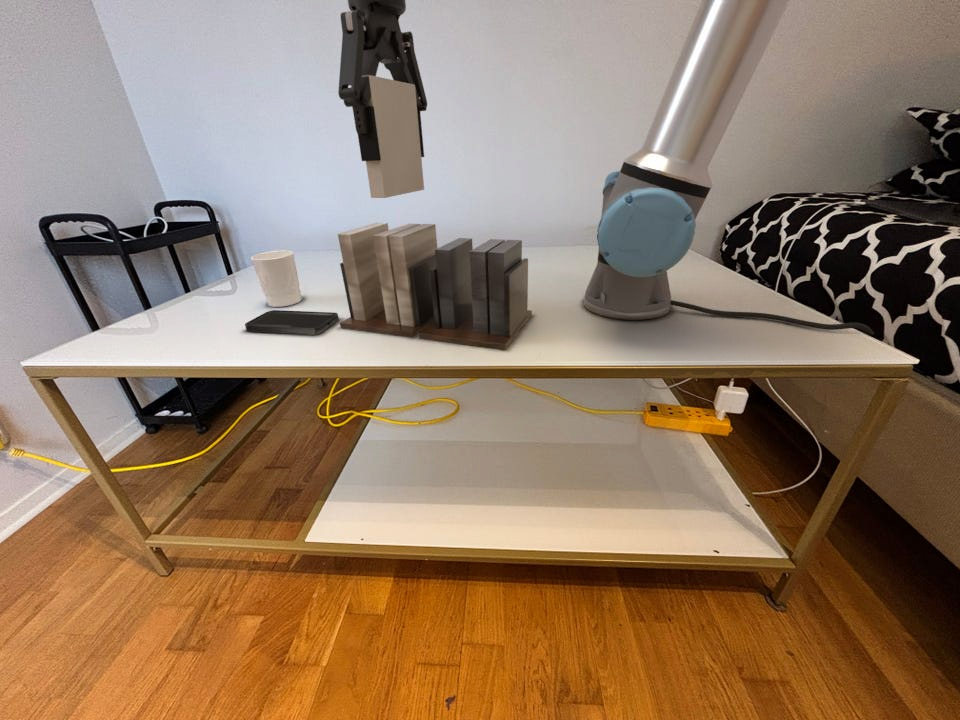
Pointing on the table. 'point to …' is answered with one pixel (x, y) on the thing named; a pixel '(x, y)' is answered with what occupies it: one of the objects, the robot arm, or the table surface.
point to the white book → (395, 139)
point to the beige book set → (389, 278)
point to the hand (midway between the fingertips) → (395, 159)
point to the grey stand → (479, 293)
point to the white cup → (278, 277)
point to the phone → (292, 322)
